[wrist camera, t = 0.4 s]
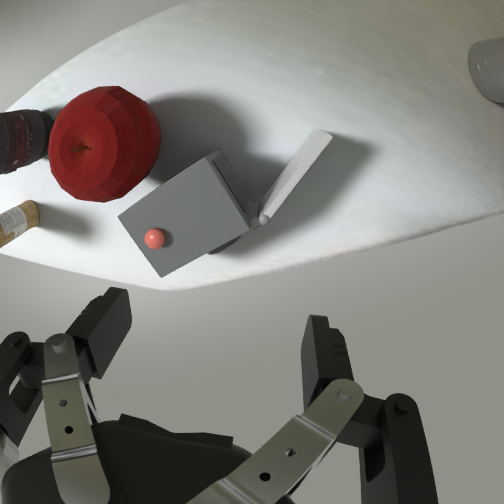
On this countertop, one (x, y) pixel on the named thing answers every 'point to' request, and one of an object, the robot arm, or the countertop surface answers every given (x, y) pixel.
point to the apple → (103, 144)
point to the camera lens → (23, 138)
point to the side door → (293, 173)
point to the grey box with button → (191, 215)
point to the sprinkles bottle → (17, 221)
